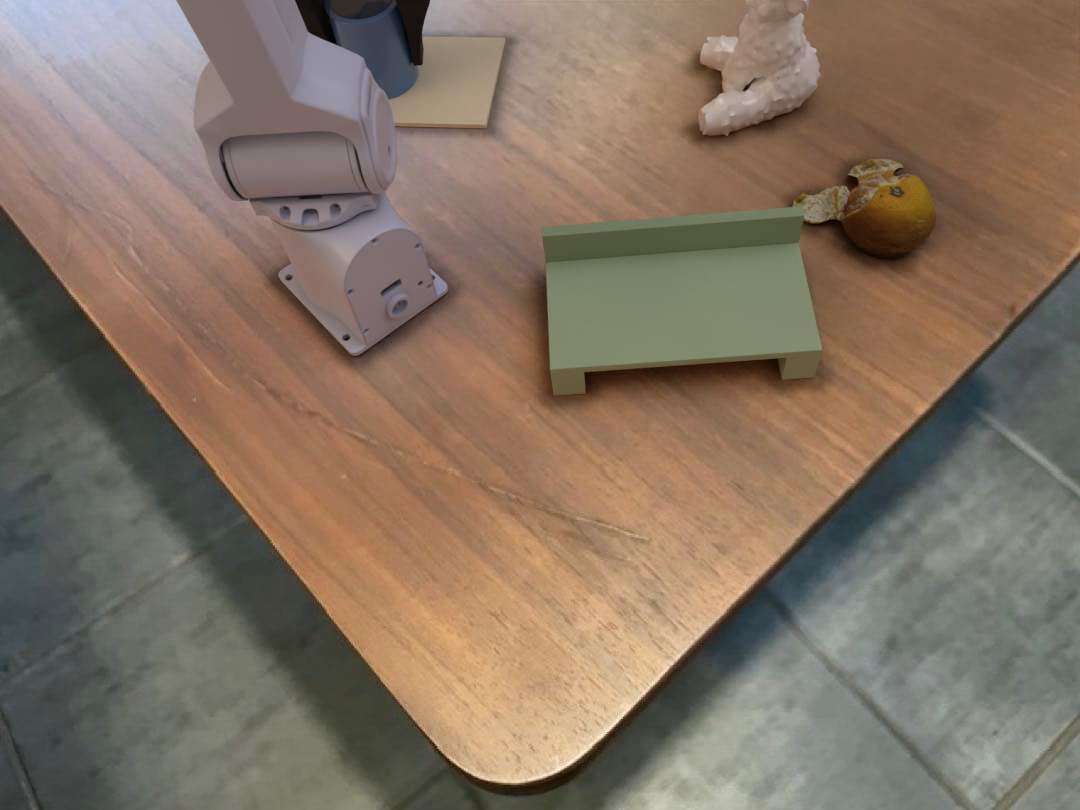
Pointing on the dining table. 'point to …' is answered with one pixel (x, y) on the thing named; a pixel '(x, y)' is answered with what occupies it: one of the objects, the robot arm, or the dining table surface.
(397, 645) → the dining table surface
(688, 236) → the shelf
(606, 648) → the dining table surface
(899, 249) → the fruit
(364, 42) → the cup
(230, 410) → the dining table surface
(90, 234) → the dining table surface
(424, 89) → the mat
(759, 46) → the seated beast figurine
